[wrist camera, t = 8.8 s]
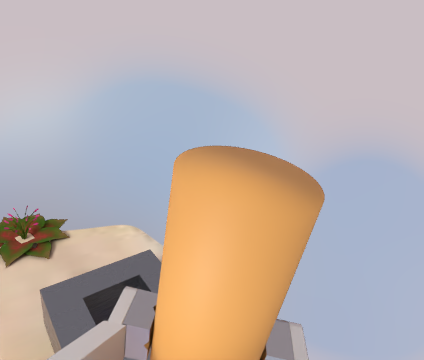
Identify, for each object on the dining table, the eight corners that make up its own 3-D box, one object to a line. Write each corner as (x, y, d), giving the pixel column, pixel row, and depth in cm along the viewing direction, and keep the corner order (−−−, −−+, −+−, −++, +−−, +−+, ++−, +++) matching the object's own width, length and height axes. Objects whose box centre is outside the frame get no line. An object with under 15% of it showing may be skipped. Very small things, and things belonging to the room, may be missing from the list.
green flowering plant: (-51, 271, 34) (-61, 241, 32) (-3, 214, 45) (-8, 188, 43) (58, 271, 37) (55, 243, 35) (80, 217, 47) (79, 193, 45)
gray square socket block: (44, 323, 30) (39, 289, 28) (147, 279, 38) (149, 249, 36) (84, 439, 23) (82, 405, 20) (203, 354, 30) (211, 323, 28)
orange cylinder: (123, 444, 15) (143, 156, 8) (184, 390, 17) (241, 140, 10) (169, 535, 12) (262, 241, 5) (232, 456, 15) (350, 191, 8)
